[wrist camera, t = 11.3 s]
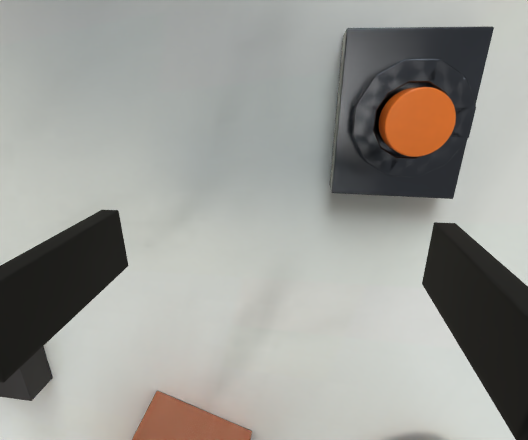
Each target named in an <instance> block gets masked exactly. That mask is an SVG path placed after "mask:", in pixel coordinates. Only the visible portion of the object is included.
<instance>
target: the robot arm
mask: <svg viewBox="0 0 528 440" xmlns="http://www.w3.org/2000/svg"><path fill="white" fill-rule="evenodd" d="M126 267H128V261H127V256H126V250H125V245H124V239H123V234H122V228H121V223H120V217H119V212H118V210H101V211H99V212H97V213H95V214H94V215H92V216H90V217H88V218H86V219H85V220H83V221H81V222H79V223H77V224H75V225H74V226H72V227H70V228H68V229H66V230H65V231H63V232H61V233H59V234H57V235H55V236H54V237H52V238H50V239H48V240H46V241H45V242H43V243H41V244H39V245H37V246H35V247H34V248H32V249H30V250H28V251H26V252H25V253H23V254H21V255H19V256H17V257H15V258H14V259H12V260H10V261H8V262H6V263H5V264H3V265H1V266H0V382H3V383H4V382H5V381H6V380H7V379H8V378H9V377H10V376H12V375H13V374H14V373H15V372H16V371H17V370H18V369H19V368H20V367H21V366H22V365H23V364H24V363H25V362H26V361H27V360H29V359H30V358H31V357H32V356H33V355H34V354H35V353H36V352H37V351H38V350H39V349H40V348H41V347H42V346H43V345H45V344H46V343H47V342H48V341H49V340H50V339H51V338H52V337H53V336H54V335H55V334H56V333H57V332H58V331H59V330H60V329H62V328H63V327H64V326H65V325H66V324H67V323H68V322H69V321H70V320H71V319H72V318H73V317H74V316H75V315H76V314H78V313H79V312H80V311H81V310H82V309H83V308H84V307H85V306H86V305H87V304H88V303H89V302H90V301H91V300H92V299H93V298H95V297H96V296H97V295H98V294H99V293H100V292H101V291H102V290H103V289H104V288H105V287H106V286H107V285H108V284H109V283H111V282H112V281H113V280H114V279H115V278H116V277H117V276H118V275H119V274H120V273H121V272H122V271H123V270H124V269H125V268H126ZM422 284H423V286H424V288H425V289H426V291H427V293H428V294H429V296H430V298H431V299H432V301H433V303H434V304H435V306H436V308H437V309H438V311H439V313H440V314H441V316H442V318H443V319H444V321H445V323H446V324H447V326H448V328H449V329H450V331H451V333H452V334H453V336H454V338H455V339H456V341H457V343H458V344H459V346H460V348H461V349H462V351H463V352H464V354H465V356H466V357H467V359H468V361H469V362H470V364H471V366H472V367H473V369H474V371H475V372H476V374H477V376H478V377H479V379H480V381H481V382H482V384H483V386H484V387H485V389H486V391H487V392H488V394H489V396H490V397H491V399H492V401H493V402H494V404H495V406H496V407H497V409H498V411H499V412H500V414H501V416H502V417H503V419H504V421H505V422H506V424H507V426H508V427H509V429H510V431H511V432H512V434H513V436H514V437H515V439H516V440H528V286H526V285H525V284H524V283H523V282H522V281H521V280H520V279H518V278H517V277H516V276H515V275H514V274H513V273H511V272H510V271H509V270H508V269H507V268H506V267H505V266H503V265H502V264H501V263H500V262H499V261H498V260H497V259H495V258H494V257H493V256H492V255H491V254H490V253H489V252H487V251H486V250H485V249H484V248H483V247H482V246H481V245H479V244H478V243H477V242H476V241H475V240H474V239H473V238H471V237H470V236H469V235H468V234H467V233H466V232H464V231H463V230H462V229H461V228H460V227H459V226H458V225H456V224H455V223H434V226H433V231H432V236H431V241H430V246H429V251H428V257H427V262H426V267H425V272H424V277H423V282H422Z"/></svg>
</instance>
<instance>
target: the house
mask: <svg viewBox="0 0 528 440" xmlns="http://www.w3.org/2000/svg"><path fill="white" fill-rule="evenodd" d="M251 433H252V431H250V430H248V429H245V428H243V427H241V426H238V425H236V424H234V423H231V422H229V421H227V420H224V419H222V418H220V417H217V416H215V415H213V414H210V413H208V412H206V411H203V410H201V409H199V408H196V407H194V406H192V405H189V404H187V403H185V402H182V401H180V400H178V399H175V398H173V397H171V396H168V395H166V394H164V393H161V392H159V391H157V392H156V394H155V396H154V398H153V400H152V402H151V404H150V406H149V408H148V409H147V411H146V413H145V415H144V417H143V419H142V421H141V423H140V425H139V427H138V429H137V431H136V433H135V435H134V437H133V439H132V440H250V438H251Z"/></svg>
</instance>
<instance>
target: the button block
mask: <svg viewBox="0 0 528 440" xmlns="http://www.w3.org/2000/svg"><path fill="white" fill-rule="evenodd" d="M493 29H494V27H418V28H348V29H347V30H346V31H345V33H344V35H343V43H342V54H341V65H340V77H339V88H338V99H337V110H336V121H335V132H334V143H333V155H332V166H331V177H330V187H331V191H332V193H345V194H365V195H386V196H407V197H428V198H449V199H453V197H454V192H455V188H456V184H457V180H458V176H459V171H460V167H461V163H462V159H463V155H464V150H465V146H466V142H467V138H469V134H470V130H471V126H472V122H473V117H474V113H475V109H476V107H475V106H476V100H477V96H478V92H479V87H480V83H481V79H482V75H483V71H484V66H485V62H486V58H487V54H488V50H489V45H490V41H491V37H492V33H493ZM417 87H432V88H436V89H438V90H440V91H442V92H444V93H445V94H446V95H447V96H448V97H449V98H450V99H451V101H452V103H453V105H454V108H455V112H456V121H455V126H454V129H453V131H452V134H451V135H450V137H449V138H448V140H447V141H446V142H445V143H444V144H443V145H442V146H441V147H440V148H439V149H437V150H436V151H434V152H432V153H430V154H428V155H425V156H420V157H409V156H405V155H402V154H400V153H398V152H396V151H395V150H393V149H392V148H390V147H389V146H388V145H387V144H386V143H385V142H384V141H383V139H382V137H381V135H380V132H379V117H380V114H381V111H382V109H383V107H384V106H385V104H386V103H387V102H388V100H389V99H390V98H391V97H393V96H394V95H395V94H397V93H398V92H400V91H403V90H405V89H409V88H417Z"/></svg>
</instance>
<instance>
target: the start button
mask: <svg viewBox="0 0 528 440" xmlns="http://www.w3.org/2000/svg"><path fill="white" fill-rule="evenodd" d="M455 121H456V112H455V108H454V105H453V103H452V101H451V99H450V98H449V97H448V96H447V95H446V94H445V93H444V92H442V91H440V90H438V89H436V88H432V87H417V88H409V89H405V90H403V91H400V92H398V93H397V94H395V95H394V96H393V97H391V98H390V99H389V100H388V102H387V103H386V104H385V106H384V107H383V109H382V111H381V114H380V117H379V132H380V135H381V137H382V139H383V141H384V142H385V143H386V144H387V145H388V146H389V147H390V148H392V149H393V150H395V151H396V152H398V153H400V154H402V155H405V156H409V157H420V156H425V155H428V154H430V153H432V152H434V151H436V150H437V149H439V148H440V147H441V146H442V145H443V144H444V143H445V142H446V141H447V140H448V138H449V137H450V135H451V134H452V131H453V129H454V126H455Z"/></svg>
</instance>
